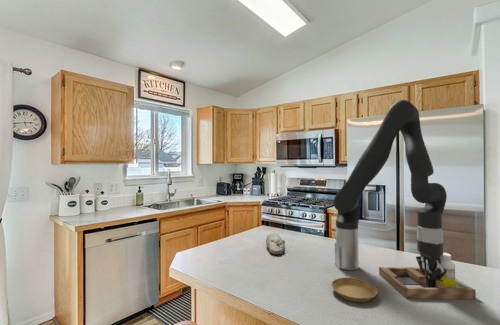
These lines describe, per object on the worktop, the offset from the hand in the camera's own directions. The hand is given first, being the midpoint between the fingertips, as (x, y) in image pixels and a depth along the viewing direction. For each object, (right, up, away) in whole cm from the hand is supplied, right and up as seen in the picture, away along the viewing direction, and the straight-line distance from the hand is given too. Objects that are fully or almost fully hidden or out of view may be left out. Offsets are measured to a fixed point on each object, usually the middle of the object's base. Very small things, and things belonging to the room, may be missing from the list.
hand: (430, 288), depth 88 cm
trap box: (0, -1, +4) cm, 4 cm away
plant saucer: (-28, -1, -2) cm, 28 cm away
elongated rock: (-50, -3, +53) cm, 73 cm away
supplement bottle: (+4, -1, 0) cm, 4 cm away
